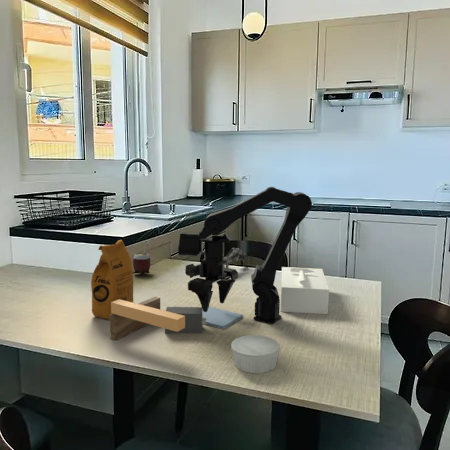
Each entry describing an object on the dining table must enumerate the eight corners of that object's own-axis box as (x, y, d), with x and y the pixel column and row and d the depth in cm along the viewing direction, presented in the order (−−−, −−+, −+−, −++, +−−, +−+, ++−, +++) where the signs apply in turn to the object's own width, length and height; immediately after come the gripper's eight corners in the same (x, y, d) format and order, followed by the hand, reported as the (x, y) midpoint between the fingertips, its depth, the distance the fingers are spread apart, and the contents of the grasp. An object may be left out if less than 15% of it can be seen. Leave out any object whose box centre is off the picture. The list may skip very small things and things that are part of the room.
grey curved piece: (243, 262, 198) (243, 241, 196) (246, 262, 198) (246, 241, 196) (220, 278, 172) (221, 253, 170) (224, 278, 171) (224, 254, 170)
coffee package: (86, 316, 128) (83, 245, 125) (112, 304, 140) (111, 237, 136) (113, 322, 125) (111, 248, 121) (138, 308, 136) (137, 240, 132)
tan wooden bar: (185, 327, 104) (185, 315, 104) (177, 331, 102) (177, 319, 101) (119, 309, 115) (119, 299, 115) (111, 313, 113) (110, 302, 112)
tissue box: (320, 291, 157) (322, 262, 155) (327, 316, 132) (329, 282, 131) (281, 289, 159) (282, 260, 157) (280, 313, 134) (281, 279, 132)
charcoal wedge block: (206, 327, 122) (206, 307, 121) (205, 334, 117) (206, 313, 116) (167, 327, 122) (167, 306, 121) (164, 334, 117) (164, 313, 116)
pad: (242, 317, 129) (242, 314, 129) (223, 329, 120) (223, 326, 120) (204, 308, 137) (204, 305, 137) (183, 319, 127) (183, 316, 127)
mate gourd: (134, 270, 181) (133, 235, 178) (153, 270, 181) (152, 235, 179) (132, 275, 173) (131, 239, 171) (152, 275, 174) (151, 239, 172)
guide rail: (160, 318, 128) (160, 297, 127) (115, 340, 112) (115, 316, 111) (155, 317, 129) (155, 296, 128) (110, 338, 114) (109, 314, 113)
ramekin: (223, 372, 97) (224, 350, 96) (239, 351, 107) (240, 331, 106) (272, 381, 93) (272, 359, 92) (283, 359, 103) (284, 338, 102)
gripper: (209, 247, 137) (208, 294, 140) (172, 258, 122) (172, 311, 124) (239, 251, 132) (238, 300, 134) (204, 264, 116) (204, 319, 118)
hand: (213, 307), depth 128 cm, fingers open, 9 cm apart
